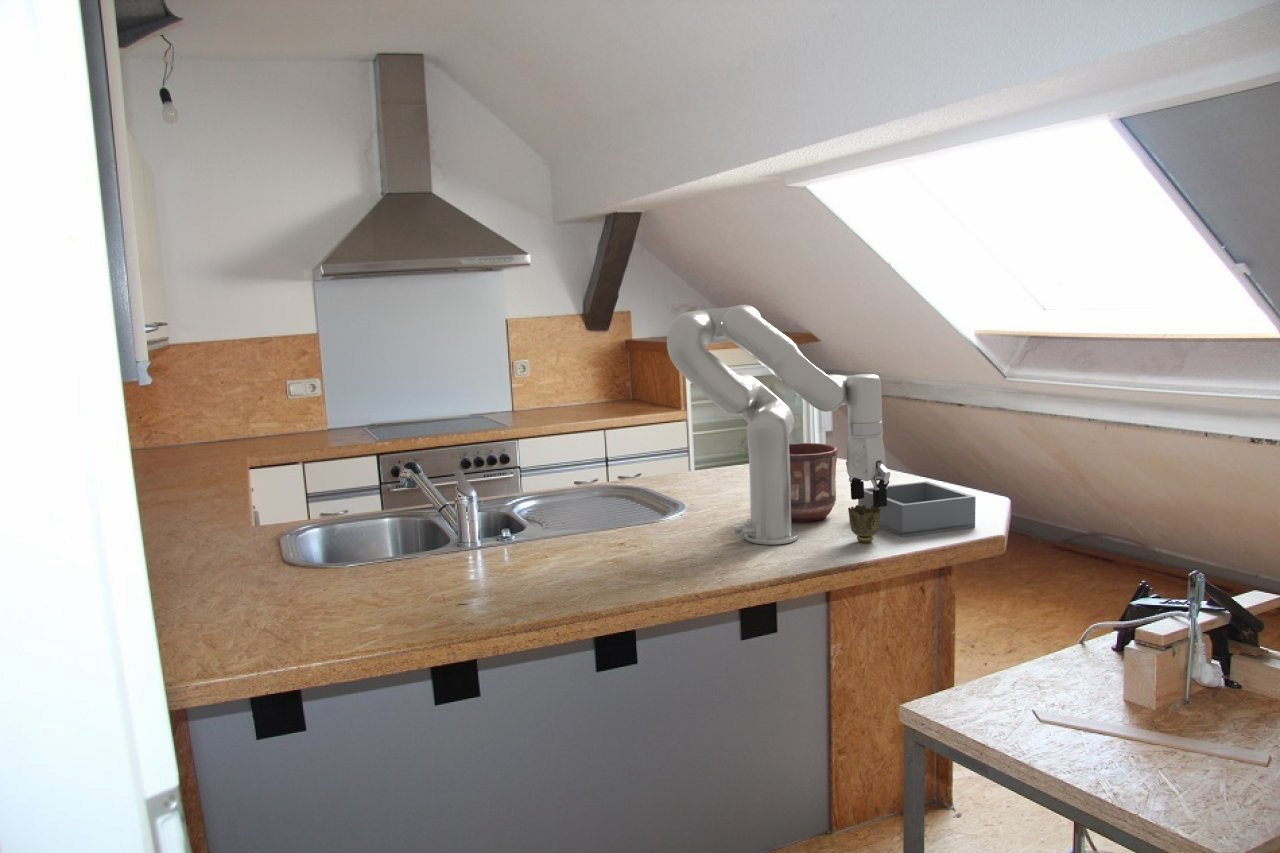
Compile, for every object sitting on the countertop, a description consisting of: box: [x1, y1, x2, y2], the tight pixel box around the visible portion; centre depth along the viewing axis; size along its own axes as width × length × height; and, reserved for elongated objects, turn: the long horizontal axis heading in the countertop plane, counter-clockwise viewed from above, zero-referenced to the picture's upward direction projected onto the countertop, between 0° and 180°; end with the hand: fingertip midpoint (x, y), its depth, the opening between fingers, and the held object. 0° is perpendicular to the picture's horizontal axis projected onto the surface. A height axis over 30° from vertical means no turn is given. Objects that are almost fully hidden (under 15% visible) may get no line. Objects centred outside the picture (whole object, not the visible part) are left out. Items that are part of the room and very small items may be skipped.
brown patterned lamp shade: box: [847, 504, 881, 544], centre depth 222 cm, size 8×7×8 cm
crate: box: [857, 480, 976, 538], centre depth 237 cm, size 20×20×8 cm
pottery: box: [789, 442, 839, 524], centre depth 246 cm, size 18×18×18 cm
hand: (868, 502), depth 221 cm, fingers open, 9 cm apart
